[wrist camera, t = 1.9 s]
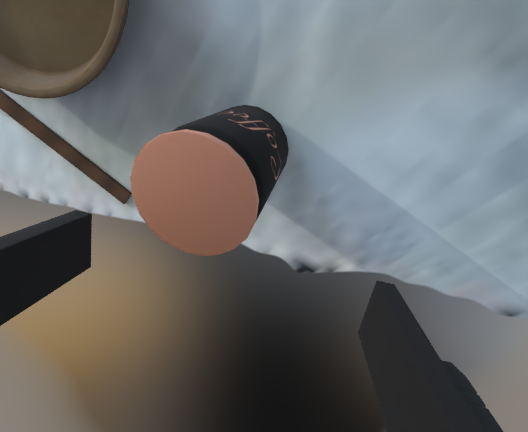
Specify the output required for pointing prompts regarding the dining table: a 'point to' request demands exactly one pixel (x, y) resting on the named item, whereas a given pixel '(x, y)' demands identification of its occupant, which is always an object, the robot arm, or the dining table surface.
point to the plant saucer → (57, 43)
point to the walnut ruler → (63, 148)
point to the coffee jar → (209, 179)
